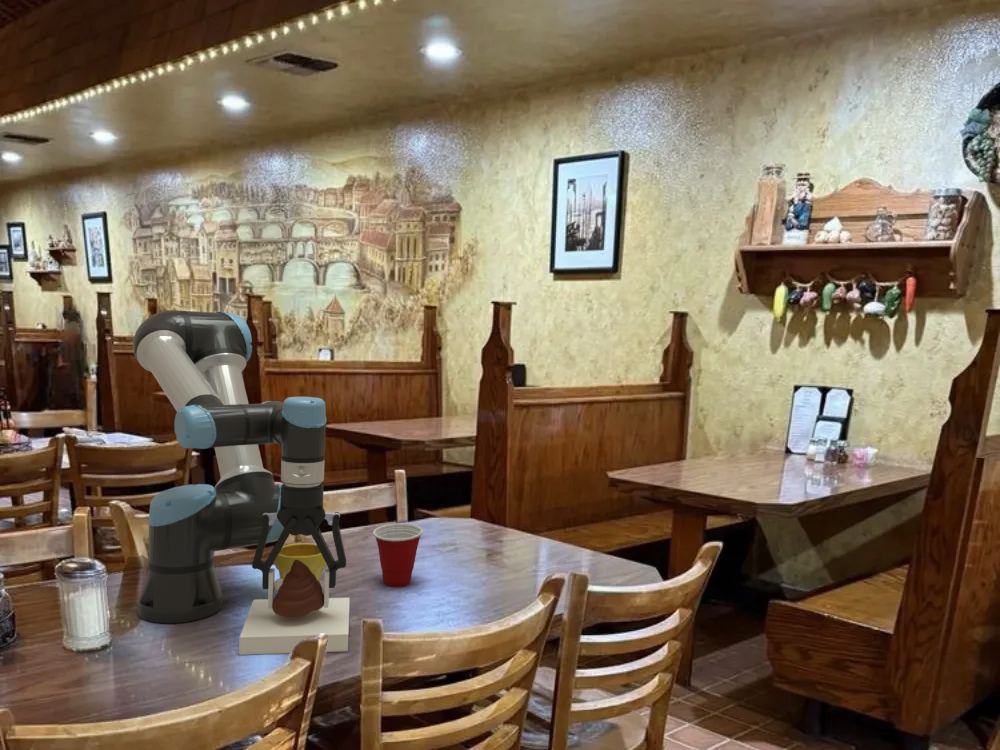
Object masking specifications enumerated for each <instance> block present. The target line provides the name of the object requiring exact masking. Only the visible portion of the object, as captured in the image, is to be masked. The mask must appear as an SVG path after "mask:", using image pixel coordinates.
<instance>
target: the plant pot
mask: <svg viewBox="0 0 1000 750" xmlns="http://www.w3.org/2000/svg"><path fill="white" fill-rule="evenodd" d="M295 560H299V561H301V562H303V563H304V564H305V565H307V566H308V567H309V569H310V571H311V572H312V573H313V574H314V575H315V577H316V579H317V580H318V581H319V582H320V583H321V580H322V575H323V571H324V568H326V566H327V564H326V562H325V560H324V558H323V556H322V554H321V552H320V550H319V548H318V546H317V544H316V543H310V542H309V543H308V542H304V543H303V542H302V543H300V542H299V543H289V544H286V545H285V544H284V545H283V547H282V548H281V550H280V552H279V554H278V555H277V557H276V559H275V561H274V563H275V564H274V565H275V567H274V568H275V569H276V570H278V573H279V577H280V578H282V579H284V578H285V576H286V574H287V573H289V572H290V570H291V567H292V564H293V562H294V561H295ZM280 578H279V579H280Z"/></svg>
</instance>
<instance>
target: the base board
mask: <svg viewBox="0 0 1000 750" xmlns="http://www.w3.org/2000/svg"><path fill="white" fill-rule="evenodd" d="M350 599H351V598H350V597H329V605H328V608H324V606H323V607H322V608H321V609H319V610H315V611H311V612H310V613H308V614H306V615H304V616H301V617H294V618H290V617H283V616H279V615H277V614H276V613H275V612H274V611H273V609H268V598H267V599H266V598H265V599H253V601H252V603H251V605H250V608H249V611H248V614H247V615H246V619H245V622H244V625H243V627H242V628H241V629H242V630H241V631H240V635H239V638H238V639H239V641H238V643H239V646H238V647H239V648H238V655H239V656H243V655H246V656H247V655H268V654H270V655H272V654H273V655H274V654H276V655H277V654H292V653H291V652H292V649H293V647H294V645H295V644H296V643H297V642H299V641H301V640H303V639H305V638H307V637H310V636H313V635H316V634H318V633H326V634H327V635H328V642H327V646H326V650H325V652H324V653H329V652H330V653H335V652H348V651H349V630H350V629H349V626H350V624H349V623H350Z"/></svg>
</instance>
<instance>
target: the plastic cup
mask: <svg viewBox="0 0 1000 750" xmlns="http://www.w3.org/2000/svg"><path fill="white" fill-rule="evenodd" d="M423 530H424V529H423V528H422V527H421V526H419V525H416V524H413V523H405V522H400V523H399V522H397V523H389V524H384V525H380V526H378V527H376V528H375V529H373V532H372V534H373V536H374V537H375V540H376V543H377V544H376V545H377V547H378V555H379V561H380V562H379V563H380V569H381V573H382V581H383V583H384V585H385V586H388V587H393V588H399V587H405V586H408V585H409V584H410V583H411V579H412V575H413V570H414V567H415V562H416V557H417V552H418V551H417V550H418V546H419V542H420V538H421V536H422V535H423Z"/></svg>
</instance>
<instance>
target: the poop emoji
mask: <svg viewBox="0 0 1000 750" xmlns="http://www.w3.org/2000/svg"><path fill="white" fill-rule="evenodd" d="M274 593H276V595H275V596H274V600H273V603H272V609H273V611H274V612H275V613H276V614H277V615H279V616H283V617H290V618H294V617H301V616H304V615H306V614H308V613H310V612H311V611H315V610H319V609H321V608H322V607H323V606H324V593H323V588H322V585H321V581H320V582H319V581H318V580H317V579H316V577H315V575H314V574H313V573H312V572H311V571H310V569H309V567H308V566H307V565H305V564H304V563H303V562H301V561H299V560H295V561H294V562H293V564H292V567H291V570H290V572H289V573H287V574H286V576H285V578H284V579H282V578H278V579H276V580H274Z"/></svg>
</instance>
